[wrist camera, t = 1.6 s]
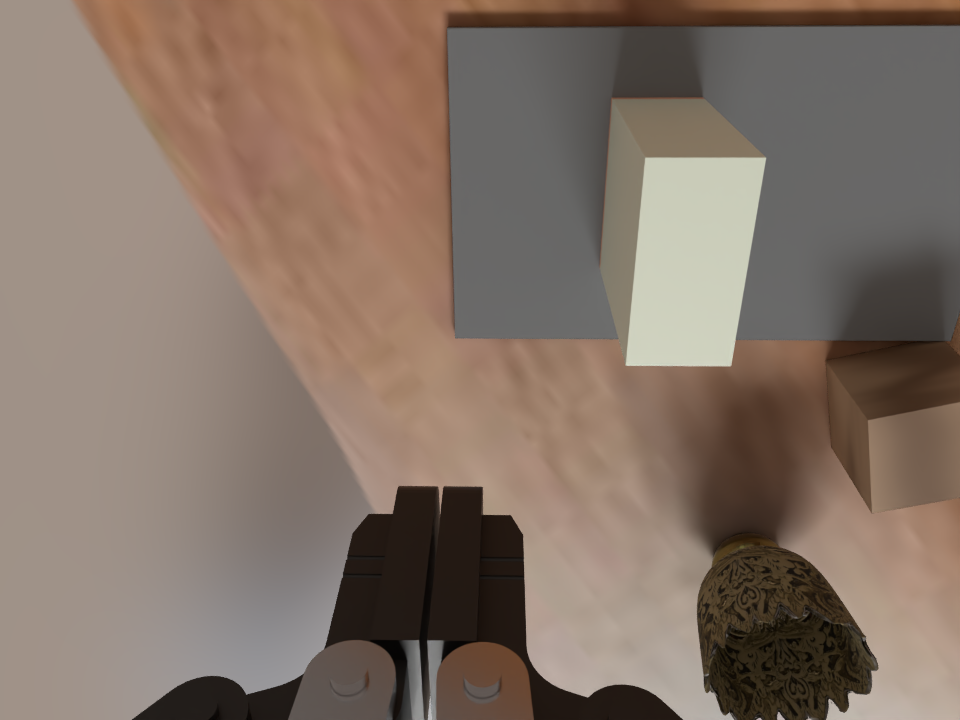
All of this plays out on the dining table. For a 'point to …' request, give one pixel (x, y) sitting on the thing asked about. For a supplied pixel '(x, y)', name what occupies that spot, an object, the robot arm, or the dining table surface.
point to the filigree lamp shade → (777, 635)
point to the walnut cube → (898, 423)
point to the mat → (763, 122)
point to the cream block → (677, 229)
